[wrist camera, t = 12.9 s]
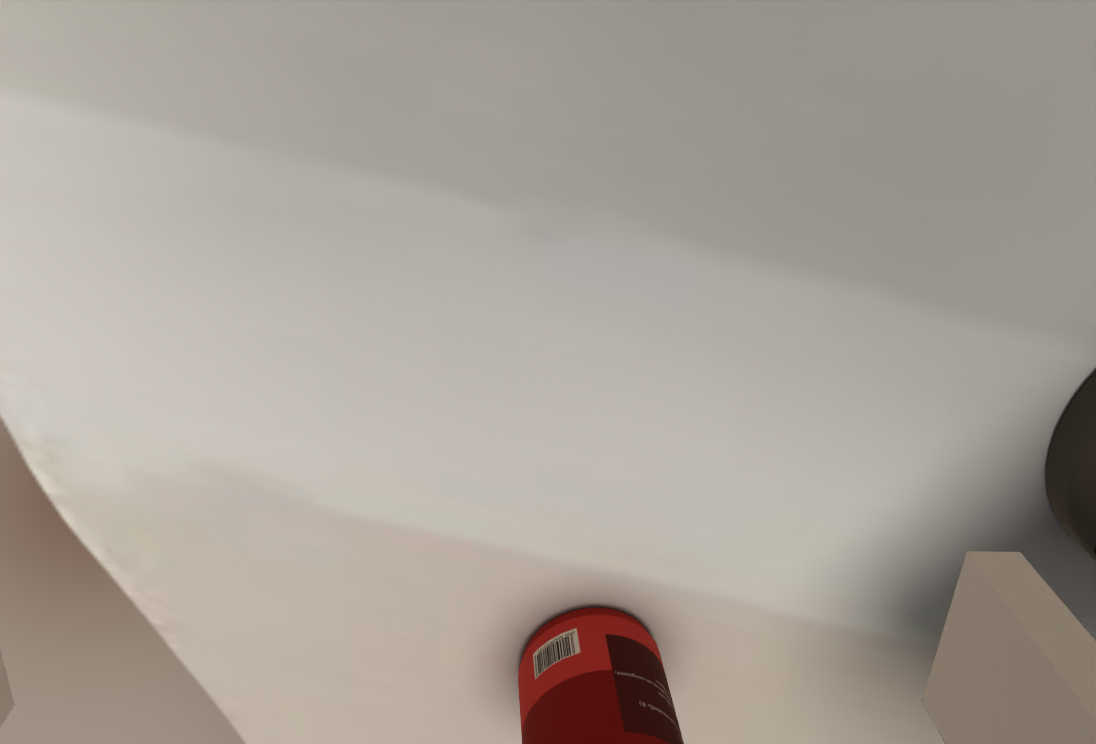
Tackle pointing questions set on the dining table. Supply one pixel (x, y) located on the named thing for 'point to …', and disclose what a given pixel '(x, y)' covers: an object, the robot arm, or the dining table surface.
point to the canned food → (595, 683)
